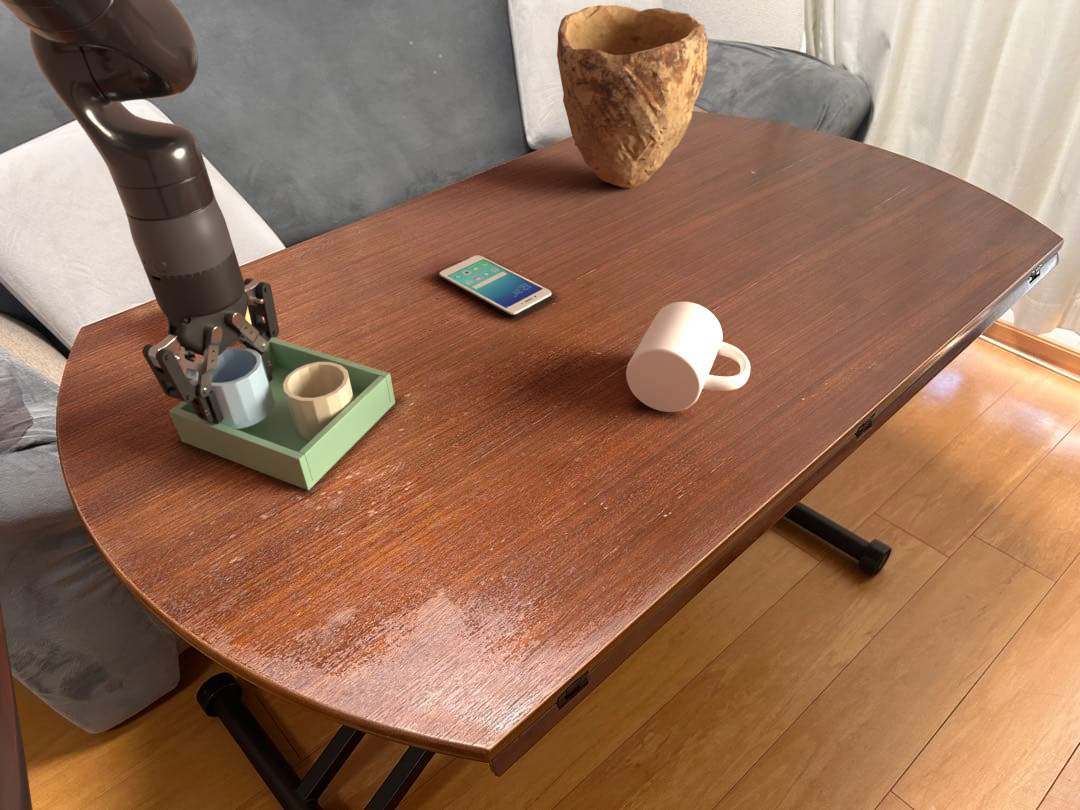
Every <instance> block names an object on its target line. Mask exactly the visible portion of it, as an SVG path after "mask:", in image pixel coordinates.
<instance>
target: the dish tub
mask: <svg viewBox="0 0 1080 810" xmlns="http://www.w3.org/2000/svg"><path fill="white" fill-rule="evenodd" d="M268 343H269V347H268V349H267V352H268V355H269V358H270V361H271V365H272V368H273V370H272V374H271V375H272V380H271V381H270V382H269V383H270V386H271V390H272V393H273V398H274V401H275V404H274V408H273V410H272V412H271V413H270V414H269V415H268V416H267V417H266V418H265V419H263V420H262V421H260V422H258V423H256V424H254V425H252V426H249V427H245V428H240V429H234V428H231V427H228V426H225V425H223V424H220V423H219V424H215V423H212V422H208V421H205V420H203V419H200V418H199V417H198V416H197V414H196V411H195V409H194V407H193V404H192V402H190V403H186V402H183V401H182V400H181V401H180V402H179V403H177V404H176V405H174V407H172V408H170V410H168V413H169V416H170V417H171V420H172V423H173V425H174V427H175V430H176V432H177V434H178V436H179V439H180V441H181V442H182V443H184V444H187V445H190V446H192V447H195V448H197V449H200V450H203V451H205V452H207V453H211V454H213V455H216V456H218V457H221V458H222V459H227V460H229V461H231V462H233V463H237V464H239V465H242V466H244V467H246V468H249V469H252V470H254V471H257V472H259V473H263V474H265V475H267V476H270V477H272V478H275V479H278V480H280V481H282V482H286V483H287V484H290V485H294V486H295V487H299V488H301V489H304V490H305V491H310V490H311V489H312V488H313V487H314V486H315V485H316V484H317V483H318V482H319V481H320V480H321V479H322V478H323V477H324V476H325V475H326V473H328V471H330V470H331V469H332V468H333V466H335V465H336V464H337V463H338V461H339V460H341V459H342V458H343V457H344V456H345V454H346V453H347V452H348V451H349V450H350V449H351V448H352V447H353V446H355V444H357V442H359V440H360V439H361V438H362V437H363V436H364V435H365V434H366V433H367V432H368V431H370V430H371V428H372V427H373V426H374V425H375V424H376V423H378V421H379V420H380V419H381V418H382V417H383V416H385V414H386V413H387V412H388V411H389V410H390V409H391V408H392V407H393V406H394V405H395V404H396V399H395V394H394V389H393V388H394V387H393V383H392V377H391V373H390V372H387V371H385V370H381V369H377V368H374V367H370V366H367V365H364V364H362V363H361V364H360V363H358V362H354V361H352V360H347V359H345V358H342V357H337V356H334V355H331V354H328V353H325V352H321V351H318V350H316V349H312V348H309V347H305V346H302V345H299V344H296V343H293V342H289V341H286V340H283V339H279V338H277V337H275V338H273V337H272V338H271V339H270V340H269V342H268ZM315 362H333V363H336V364H339V365H341V366H343V367H344V368H345V369H346V370H347V371H348V375H349V379H350V384H351V388H352V393H353V397H354V400H353V401H352V402H351V403H350V404H349V405H348V406H347V407H346V408H345V409H344V410H343V411H342V412H340V413H339V414H338V415H337V416H336V417H335V418H334V419H333V420H332V421H331V422H330V423H329V424H328V425H327V426H326V427H325V428H323V429H322V430H321V431H320V432H319V433H318V434H317V435H316V436H315V437H314V438H313V439H312V440H311V441H307V440H304V439H303V438H301V437H300V436H299V435H298V434H297V432H296V429H295V428H294V424H293V421H292V417H291V414H290V411H289V407H288V404H287V401H286V397H285V394H284V389H283V383H284V381H285V379H286V377H287V376H288V375H289V374H290V373H291V372H293V371H294V370H295V369H297V368H299V367H301V366H304V365H306V364H310V363H315Z"/></svg>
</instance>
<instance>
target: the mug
mask: <svg viewBox="0 0 1080 810" xmlns="http://www.w3.org/2000/svg"><path fill="white" fill-rule="evenodd" d="M722 329H723V328H722V327H721V323H720V322H719V320H718V318H717V317H716V315H714V314H713V312H711V311H710V310H709V309H707V308H706V307H704V306H702V305H700V304H698V303H695V302H691V301H675V302H671V303H669V304H667V305H664V306H663V307H662V308H660V310H658V312H657V313H656V314H655V316H654V318H653V320H652V321H651V323H650V325H649V326H648V328H647V330H646V332H645V334H644V335H643V337H642V338H641V340H640V342H639V344H638V346H637V347H636V350H635V351H634V353H633V354H632V357H631V358H630V360H629V362H628V364H627V366H626V371H625V377H626V382H627V385H628V387H629V389H630V391H631V393H632V394H633V395H634V397H635V398H636V399H637V400H638V401H639V402H641V403H643V404H644V405H645V406H647V407H648V408H651V409H653V410H656V411H659V412H664V413H677V412H681V411H684V410H687V409H689V408H691V407H692V406H693V405H694V404H695V403H697V401H698V400H699V398H700V396H701V393H702V391H703V390H708V391H718V392H728V391H729V392H730V391H734V390H738V389H739V388H740V389H741V387H743V386H744V385H745V384H746V383H747V382H748V380H749V377H750V374H751V363H750V361H749V359H748V357H747V356H746V355H745V353H744V352H743V351H742V350H740V349H739V348H738V347H736V346H735V345H732V344H730V343H727V342H725V341H723V330H722ZM717 356H722V357H726V358H728V359H731V360H733V361H735V362H736V363H738V365H739V367H740V370H739V372H738V373H737V374H735V375H729V376H721V375H720V376H719V375H712V374H710V372H711V371H712V370H711V369H712V367H713V365H714V363H715V360H716V358H717Z"/></svg>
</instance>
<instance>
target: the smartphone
mask: <svg viewBox="0 0 1080 810" xmlns="http://www.w3.org/2000/svg"><path fill="white" fill-rule="evenodd" d="M439 279H440V280H441V281H442V282H444V283H446V284H448V285H449V286H452V287H454V288H456V289H457V290H459V291H461V292H463V293H464V294H466V295H468V296H470V297H472V298H474V299H475V300H477V301H479V302H481V303H483V304H484V305H486V306H488V307H489V308H491V309H493V310H495V311H497V312H499V313H500V314H503V316H506V317H508V318H510V319H516V318H517V317H519V316H521V315H523V314H524V313H526V312H529V311H531V310H532V309H535V308H536V307H538V306H540V305H541V304H543V303H546V302H547V301H549V300H550V299H552V290H550V289H548V288H546V287H545V286H543V285H540V284H538V283H536V282H534V281H532V280H530V279H528V278H526V277H524V276H523V275H520V274H518V273H516V272H515V271H513V270H510V269H509V268H506V267H504V266H503V265H500V264H499V263H497V262H494V261H492V260H491V259H488V258H487V257H484V256H482V255H479V254H478V255H477V254H476V255H473V256H471V257H469V258H467V259H464V260H462V261H460V262H457V263H456V264H453V265H452V266H450V267H447V268H445V269H443V270H441V271H440V272H439Z"/></svg>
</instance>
